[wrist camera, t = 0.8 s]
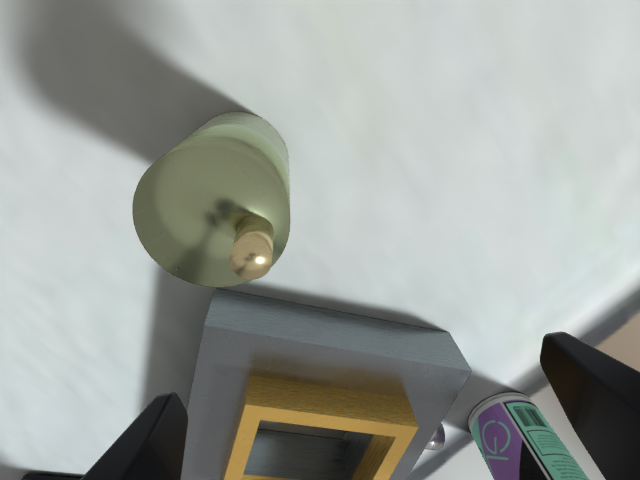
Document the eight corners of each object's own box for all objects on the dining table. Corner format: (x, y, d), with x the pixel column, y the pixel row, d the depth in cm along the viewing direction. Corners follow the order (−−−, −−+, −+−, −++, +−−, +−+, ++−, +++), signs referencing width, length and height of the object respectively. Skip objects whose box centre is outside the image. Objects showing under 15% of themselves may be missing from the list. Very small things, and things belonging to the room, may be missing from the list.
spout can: (185, 194, 20) (100, 306, 11) (198, 98, 18) (108, 138, 9) (276, 215, 21) (268, 335, 12) (299, 127, 19) (311, 189, 10)
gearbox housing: (181, 455, 29) (159, 536, 24) (215, 287, 22) (195, 352, 17) (392, 477, 32) (411, 552, 27) (474, 337, 26) (518, 402, 21)
